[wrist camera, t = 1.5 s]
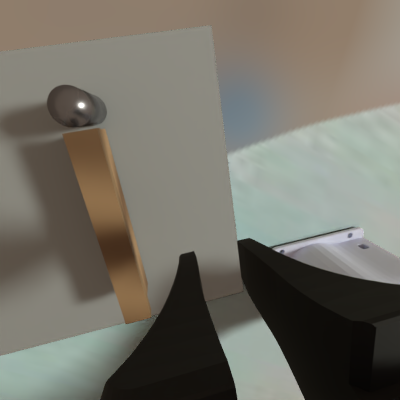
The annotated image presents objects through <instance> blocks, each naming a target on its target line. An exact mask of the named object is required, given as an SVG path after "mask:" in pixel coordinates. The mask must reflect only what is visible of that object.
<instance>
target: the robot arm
mask: <svg viewBox="0 0 400 400" xmlns="http://www.w3.org/2000/svg"><path fill="white" fill-rule="evenodd" d="M348 234H349V235H348ZM363 234H364V230H363V229H362V228H360V227H355V228H351V229H347V230H343V231H339V232H335V233H331V234H327V235H322V236H318V237H314V238H310V239H306V240H302V241H298V242H294V243H290V244H286V245H281V246H277V247H274V248H272V249H271V248H269V247H267V246H265V245H263V244H261V243H259V242H257V241H255V240H253V239H250V238H247V239H243V240H239V241H237V246H238V254H239V262H240V271H241V278H242V280H243V282H244V285H245V287H246V289H247V291H248V294H249V296H250V297H251V299H252V301H253V302H254V304H255V306H256V307H257V309H258V311H259V312H260V314H261V316H262V317H263V319H264V321H265V322H266V324H267V325H268V327H269V329H270V330H271V332H272V334H273V335H274V337H275V339H276V341H277V342H278V344H279V346H280V348H281V350H282V352H283V354H284V356H285V358H286V360H287V362H288V364H289V366H290V368H291V370H292V373H293V375H294V377H295V379H296V381H297V383H298V385H299V388H300V390H301V392H302V394H303V396H304V398H305V400H400V258H399V257H398V256H396V255H394V254H392V253H390V252H389V251H387V250H385V249H383V248H381V247H380V246H378V245H376V244H374V243H372V242H371V241H369V240H367V239H365V238H363ZM281 250H282V252H281V253H279V252H280V251H281ZM100 400H237V394H236V388H235V384H234V380H233V377H232V374H231V370H230V367H229V364H228V361H227V358H226V356H225V354H224V351H223V349H222V346H221V344H220V341H219V339H218V336H217V333H216V331H215V328H214V325H213V322H212V320H211V317H210V314H209V311H208V308H207V305H206V302H205V299H204V294H203V288H202V283H201V278H200V272H199V267H198V262H197V257H196V255H195V252H194V251H192V252H188V253H184V254H181V255H180V256H179V264H178V269H177V273H176V276H175V279H174V282H173V285H172V288H171V290H170V293H169V295H168V298H167V300H166V302H165V304H164V306H163V308H162V310H161V312H160V314H159V315H158V317H157V319H156V320H155V322H154V324H153V325H152V327H151V328H150V330H149V331H148V333H147V334H146V336H145V337H144V338H143V340H142V341H141V342H140V344H139V345H138V346H137V348H136V349H135V350H134V352H133V353H132V354H131V355H130V357H129V358H128V359H127V360H126V361H125V362H124V363H123V364H122V365H121V366H120V368H119V369H118V370H117V371H116V372H115V373H114V374H113V375H112V376H111V377H110V378H109V379H108V380H107V382H106V384H105V387H104V390H103V393H102V396H101V399H100Z"/></svg>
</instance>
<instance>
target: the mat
mask: <svg viewBox="0 0 400 400" xmlns="http://www.w3.org/2000/svg"><path fill="white" fill-rule="evenodd" d="M59 85H71V86H74V87H77V88H79V89H81V90H84V91H86V92H88V93H91V94H93V95H95V96H97V97H99V98H100V99H101V100H102V101H103V102H104V104H105V106H106V109H107V115H106V118H105V120H104V121H103V122H102V123H101V124H99V125H95V126H84V127H73V128H72V127H66V126H63V125H61V124H59V123H58V122H56V121H55V120H54V119H53V118H52V116H51V115H50V113H49V111H48V107H47V98H48V95H49V93H50V92H51V90H52V89H54V88H55V87H57V86H59ZM94 128H100V129H105V130H106V133H107V137H108V141H109V144H110V148H111V151H112V155H113V159H114V162H115V166H116V170H117V173H118V177H119V180H120V184H121V188H122V191H123V195H124V199H125V202H126V206H127V209H128V213H129V217H130V220H131V224H132V228H133V231H134V235H135V238H136V242H137V246H138V249H139V253H140V257H141V260H142V264H143V267H144V271H145V275H146V278H147V282H148V292H147V296H148V300H149V303H150V307H151V316H153V315H157V314H160V312H161V310H162V308H163V306H164V304H165V302H166V300H167V298H168V295H169V293H170V290H171V288H172V285H173V282H174V279H175V276H176V273H177V269H178V264H179V256H180V255H181V254H184V253H188V252H192V251H194V252H195V255H196V257H197V262H198V267H199V272H200V278H201V283H202V288H203V294H204V299H205V302H206V301H210V300H214V299H218V298H221V297H225V296H229V295H233V294H237V293H240V292H243V283H242V278H241V271H240V262H239V254H238V246H237V234H236V225H235V217H234V209H233V201H232V192H231V184H230V176H229V167H228V159H227V151H226V143H225V134H224V126H223V118H222V110H221V102H220V93H219V85H218V76H217V68H216V60H215V51H214V43H213V35H212V27H211V25H210V26H202V27H194V28H186V29H178V30H171V31H162V32H154V33H146V34H139V35H130V36H122V37H114V38H106V39H98V40H90V41H83V42H74V43H66V44H58V45H50V46H43V47H33V48H25V49H17V50H9V51H2V52H0V356H1V355H5V354H9V353H12V352H16V351H20V350H24V349H28V348H31V347H35V346H39V345H43V344H47V343H50V342H54V341H58V340H62V339H66V338H69V337H73V336H77V335H81V334H85V333H88V332H92V331H96V330H100V329H104V328H107V327H111V326H115V325H119V324H123V323H125V320H124V317H123V314H122V311H121V308H120V305H119V302H118V299H117V296H116V293H115V290H114V287H113V284H112V281H111V278H110V275H109V272H108V269H107V266H106V263H105V260H104V257H103V255H102V252H101V249H100V246H99V243H98V240H97V237H96V234H95V231H94V228H93V225H92V222H91V219H90V216H89V213H88V210H87V207H86V204H85V201H84V198H83V195H82V192H81V189H80V186H79V183H78V180H77V177H76V174H75V171H74V168H73V165H72V162H71V159H70V156H69V153H68V150H67V147H66V144H65V141H64V138H63V135H62V134H64V133H70V132H76V131H82V130H88V129H94Z"/></svg>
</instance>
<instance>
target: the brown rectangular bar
mask: <svg viewBox="0 0 400 400" xmlns="http://www.w3.org/2000/svg"><path fill="white" fill-rule="evenodd" d="M62 135H63V138H64V141H65V144H66V147H67V150H68V153H69V156H70V159H71V162H72V165H73V168H74V171H75V174H76V177H77V180H78V183H79V186H80V189H81V192H82V195H83V198H84V201H85V204H86V207H87V210H88V213H89V216H90V219H91V222H92V225H93V228H94V231H95V234H96V237H97V240H98V243H99V246H100V249H101V252H102V255H103V257H104V260H105V263H106V266H107V269H108V272H109V275H110V278H111V281H112V284H113V287H114V290H115V293H116V296H117V299H118V302H119V305H120V308H121V311H122V314H123V317H124V320H125V323H126V324H129V323H133V322H136V321H140V320H144V319H148V318H151V307H150V303H149V300H148V296H147V292H148V282H147V278H146V275H145V271H144V267H143V264H142V260H141V257H140V253H139V249H138V246H137V242H136V238H135V235H134V231H133V228H132V224H131V220H130V217H129V213H128V209H127V206H126V202H125V199H124V195H123V191H122V188H121V184H120V180H119V177H118V173H117V170H116V166H115V162H114V159H113V155H112V151H111V148H110V144H109V141H108V137H107V133H106V130H105V129H100V128H94V129H88V130H82V131H76V132H70V133H64V134H62Z"/></svg>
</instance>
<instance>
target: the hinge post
mask: <svg viewBox="0 0 400 400" xmlns="http://www.w3.org/2000/svg"><path fill="white" fill-rule="evenodd" d="M47 107H48V111H49V113H50V115H51V116H52V118H53V119H54V120H55V121H56V122H58V123H59V124H61V125H63V126H66V127H72V128H73V127H84V126H95V125H99V124H101V123H102V122H103V121H104V120H105V118H106V115H107V109H106V106H105V104H104V102H103V101H102V100H101V99H100V98H99V97H97V96H95V95H93V94H91V93H88V92H86V91H84V90H81V89H79V88H77V87H74V86H71V85H59V86H57V87H55V88H54V89H52V90H51V92H50V93H49V95H48V98H47Z"/></svg>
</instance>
